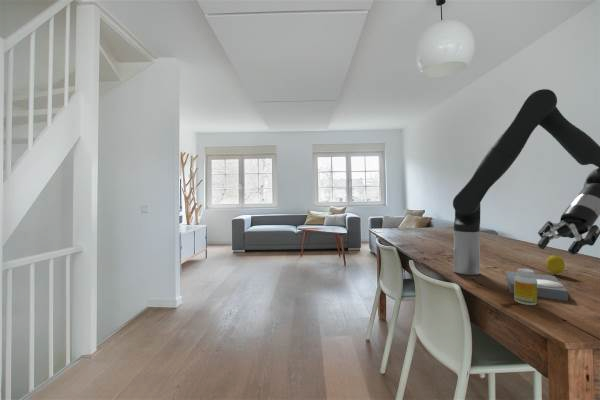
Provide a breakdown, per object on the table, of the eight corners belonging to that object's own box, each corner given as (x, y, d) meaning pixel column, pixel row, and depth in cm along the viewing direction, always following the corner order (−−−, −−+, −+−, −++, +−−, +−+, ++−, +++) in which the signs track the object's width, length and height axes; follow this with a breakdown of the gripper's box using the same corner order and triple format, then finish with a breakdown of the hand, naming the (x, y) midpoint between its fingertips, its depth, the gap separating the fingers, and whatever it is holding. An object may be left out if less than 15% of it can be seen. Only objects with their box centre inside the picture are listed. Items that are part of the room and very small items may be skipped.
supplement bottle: (538, 307, 83) (538, 273, 82) (515, 303, 86) (515, 271, 85) (535, 300, 87) (535, 269, 87) (513, 297, 90) (513, 266, 90)
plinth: (510, 293, 94) (510, 283, 94) (505, 278, 109) (505, 270, 109) (568, 301, 87) (568, 290, 87) (554, 284, 102) (554, 275, 102)
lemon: (568, 277, 110) (568, 256, 110) (551, 276, 111) (551, 256, 111) (558, 273, 115) (558, 253, 115) (542, 272, 116) (542, 253, 116)
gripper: (552, 203, 97) (525, 238, 95) (605, 204, 83) (575, 246, 81) (563, 218, 99) (537, 253, 96) (618, 222, 85) (589, 263, 82)
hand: (554, 250), depth 89 cm, fingers open, 8 cm apart
